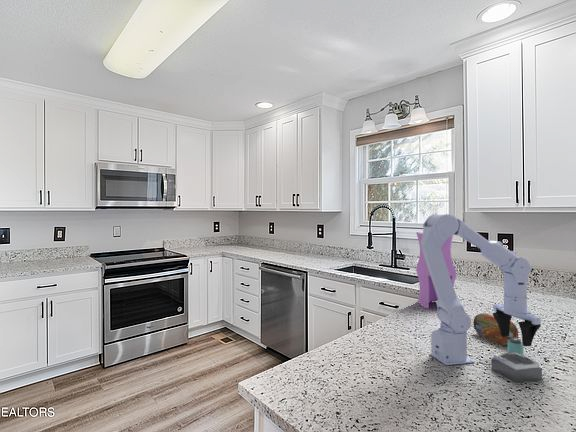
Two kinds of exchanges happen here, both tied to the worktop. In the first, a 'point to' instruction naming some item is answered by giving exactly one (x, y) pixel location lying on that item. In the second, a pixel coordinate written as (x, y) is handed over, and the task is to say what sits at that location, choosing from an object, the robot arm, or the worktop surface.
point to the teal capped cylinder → (515, 346)
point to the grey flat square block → (516, 367)
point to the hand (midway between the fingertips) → (515, 340)
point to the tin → (492, 329)
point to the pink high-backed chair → (424, 276)
